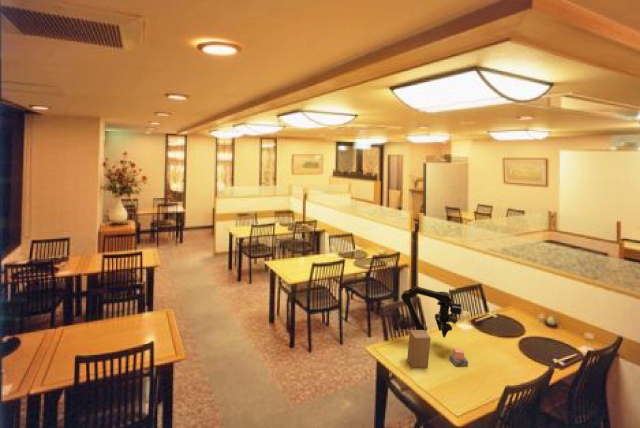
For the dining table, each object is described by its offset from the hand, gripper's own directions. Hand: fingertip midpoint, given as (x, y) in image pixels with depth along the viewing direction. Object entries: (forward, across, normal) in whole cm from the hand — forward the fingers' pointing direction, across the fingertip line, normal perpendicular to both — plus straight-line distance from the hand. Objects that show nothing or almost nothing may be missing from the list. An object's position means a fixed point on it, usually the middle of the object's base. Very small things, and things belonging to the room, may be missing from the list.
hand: (441, 333), depth 239 cm
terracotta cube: (+8, -14, -7) cm, 18 cm away
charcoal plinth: (+12, -14, -7) cm, 20 cm away
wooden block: (+12, -17, +19) cm, 28 cm away
